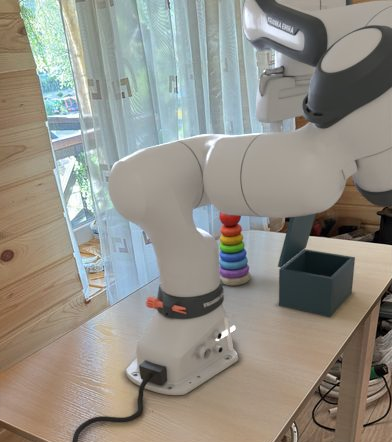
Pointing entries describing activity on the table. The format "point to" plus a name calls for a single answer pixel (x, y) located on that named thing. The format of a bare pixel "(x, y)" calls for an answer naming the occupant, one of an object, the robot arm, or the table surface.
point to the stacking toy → (232, 252)
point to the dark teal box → (316, 282)
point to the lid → (296, 237)
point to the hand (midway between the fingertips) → (296, 139)
